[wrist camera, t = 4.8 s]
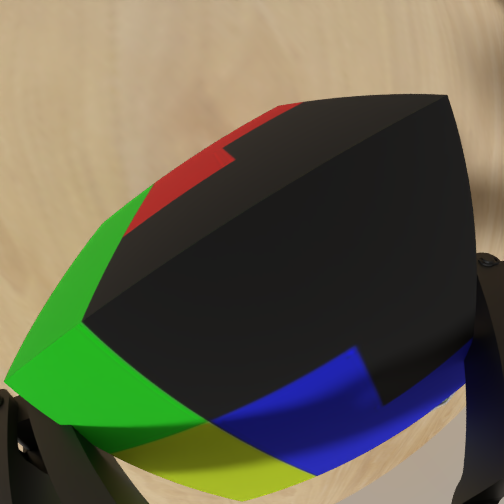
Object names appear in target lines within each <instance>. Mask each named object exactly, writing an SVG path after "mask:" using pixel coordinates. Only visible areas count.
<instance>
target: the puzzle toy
mask: <svg viewBox="0 0 504 504" xmlns="http://www.w3.org/2000/svg"><path fill="white" fill-rule="evenodd" d="M476 290H477V261H476V239H475V226H474V215H473V206H472V199H471V192H470V185H469V179H468V173H467V168H466V163H465V158H464V153H463V149H462V145H461V140H460V136H459V133H458V129H457V125H456V121H455V118H454V115H453V111H452V108H451V105H450V102H449V99H448V96H447V95H435V94H390V95H368V96H354V97H342V98H332V99H323V100H315V101H307V102H300V103H294V104H287V105H281V106H277V107H275V108H274V109H272V110H270V111H268V112H266V113H264V114H263V115H261V116H259V117H257V118H255V119H254V120H252V121H250V122H248V123H247V124H245V125H243V126H241V127H240V128H238V129H236V130H235V131H233V132H231V133H230V134H228V135H226V136H225V137H223V138H221V139H220V140H218V141H217V142H215V143H213V144H212V145H210V146H209V147H207V148H205V149H204V150H202V151H201V152H199V153H198V154H196V155H195V156H193V157H192V158H190V159H189V160H187V161H186V162H184V163H183V164H181V165H180V166H178V167H177V168H175V169H174V170H172V171H171V172H170V173H168V174H167V175H165V176H164V177H162V178H161V179H160V180H158V181H157V182H156V183H154V184H153V185H151V186H150V187H149V188H147V189H146V190H145V191H143V192H142V193H141V194H139V195H138V196H137V197H135V198H134V199H133V200H131V201H130V202H129V203H127V204H126V205H125V206H124V207H122V208H121V209H120V210H119V211H117V212H116V213H115V214H114V215H112V216H111V217H110V218H109V219H107V220H106V221H105V222H104V223H103V224H102V225H101V226H100V227H99V229H98V230H97V231H96V232H95V234H94V235H93V236H92V238H91V239H90V240H89V242H88V243H87V244H86V246H85V247H84V248H83V250H82V251H81V252H80V254H79V255H78V256H77V258H76V259H75V261H74V262H73V263H72V265H71V266H70V268H69V269H68V270H67V272H66V273H65V275H64V276H63V278H62V279H61V281H60V282H59V284H58V285H57V287H56V288H55V290H54V291H53V293H52V294H51V296H50V298H49V299H48V301H47V302H46V304H45V306H44V307H43V309H42V310H41V312H40V314H39V315H38V317H37V319H36V320H35V322H34V324H33V326H32V327H31V329H30V331H29V333H28V335H27V336H26V338H25V340H24V342H23V344H22V346H21V347H20V349H19V351H18V353H17V355H16V357H15V359H14V361H13V363H12V365H11V367H10V369H9V371H8V373H7V376H6V378H5V380H4V382H5V383H6V384H7V385H8V386H9V387H11V388H12V389H13V390H14V391H15V392H16V393H18V394H19V395H20V396H21V397H23V398H24V399H25V400H26V401H28V402H29V403H30V404H32V405H33V406H34V407H36V408H37V409H38V410H40V411H41V412H42V413H44V414H45V415H46V416H48V417H49V418H51V419H52V420H54V421H55V422H57V423H58V424H60V425H72V426H73V427H74V428H75V429H76V430H77V431H78V432H79V433H80V434H81V435H83V436H84V437H85V438H86V439H87V440H88V441H89V442H91V443H92V444H93V445H94V446H96V447H98V448H99V449H101V450H103V451H105V452H107V453H109V454H111V455H113V456H115V457H117V458H119V459H121V460H123V461H125V462H127V463H129V464H131V465H134V466H136V467H138V468H140V469H143V470H145V471H147V472H150V473H152V474H155V475H157V476H160V477H162V478H165V479H167V480H170V481H173V482H176V483H178V484H181V485H184V486H187V487H190V488H193V489H197V490H200V491H203V492H207V493H210V494H214V495H217V496H221V497H225V498H229V499H233V500H238V501H242V502H243V501H246V500H250V499H254V498H257V497H260V496H264V495H267V494H270V493H273V492H276V491H279V490H282V489H285V488H288V487H290V486H293V485H296V484H298V483H301V482H304V481H306V480H309V479H311V478H313V477H316V476H318V475H321V474H323V473H325V472H327V471H330V470H332V469H334V468H336V467H338V466H340V465H342V464H344V463H346V462H348V461H350V460H352V459H354V458H356V457H358V456H360V455H362V454H364V453H366V452H368V451H369V450H371V449H373V448H375V447H376V446H378V445H380V444H382V443H383V442H385V441H387V440H388V439H390V438H392V437H393V436H395V435H396V434H398V433H400V432H401V431H403V430H404V429H406V428H407V427H409V426H410V425H412V424H413V423H415V422H416V421H418V420H419V419H420V418H422V417H423V416H425V415H426V414H427V413H429V412H430V411H431V410H433V409H434V408H435V407H437V406H438V405H439V404H441V403H442V402H443V401H445V400H446V399H447V398H448V397H450V396H451V395H452V394H453V393H454V392H456V391H457V390H458V389H459V388H460V387H462V386H463V385H464V384H465V383H466V382H465V368H464V360H465V357H466V355H467V353H468V350H469V348H470V346H471V343H472V341H473V335H474V325H475V312H476Z"/></svg>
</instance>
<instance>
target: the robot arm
mask: <svg viewBox="0 0 504 504" xmlns="http://www.w3.org/2000/svg"><path fill="white" fill-rule="evenodd" d="M476 261H477V290H476V312H475V325H474V335H473V341H472V343H471V346H470V348H469V350H468V353H467V355H466V357H465V360H464V368H465V382H466V445H465V458H464V468H463V474H462V477H461V480H460V482H459V484H458V485H457V487H456V490H455V492H454V495H453V499H452V504H498V503H499V501H500V500H501V499H502V497H504V261H500V260H499V259H498V258H497V257H495V256H493V255H491V254H488V253H476ZM18 443H20V444H21V445H22V446H23V452H22V451H20V450H19V448H18ZM0 504H149V503H148V502H147V501H146V499H145V498H144V497H143V496H142V495H141V493H140V492H139V491H138V489H137V488H136V487H135V486H134V484H133V483H132V482H131V480H130V479H129V478H128V476H127V475H126V474H125V472H124V471H123V469H122V468H121V467H120V465H119V464H118V462H117V461H116V459H115V458H114V456H113V455H111V454H109V453H107V452H105V451H103V450H101V449H99V448H98V447H96V446H94V445H93V444H92V443H91V442H89V441H88V440H87V439H86V438H85V437H84V436H83V435H81V434H80V433H79V432H78V431H77V430H76V429H75V428H74V427H73V426H72V425H60V424H58V423H57V422H55V421H54V420H52V419H51V418H49V417H48V416H46V415H45V414H44V413H42V412H41V411H40V410H38V409H37V408H36V407H34V406H33V405H32V404H30V403H29V402H28V401H26V400H25V399H24V398H23V397H21V396H20V395H19V396H16V397H14V398H13V397H12V396H11V395H10V393H9V392H8V391H7V390H5V389H0Z"/></svg>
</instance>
